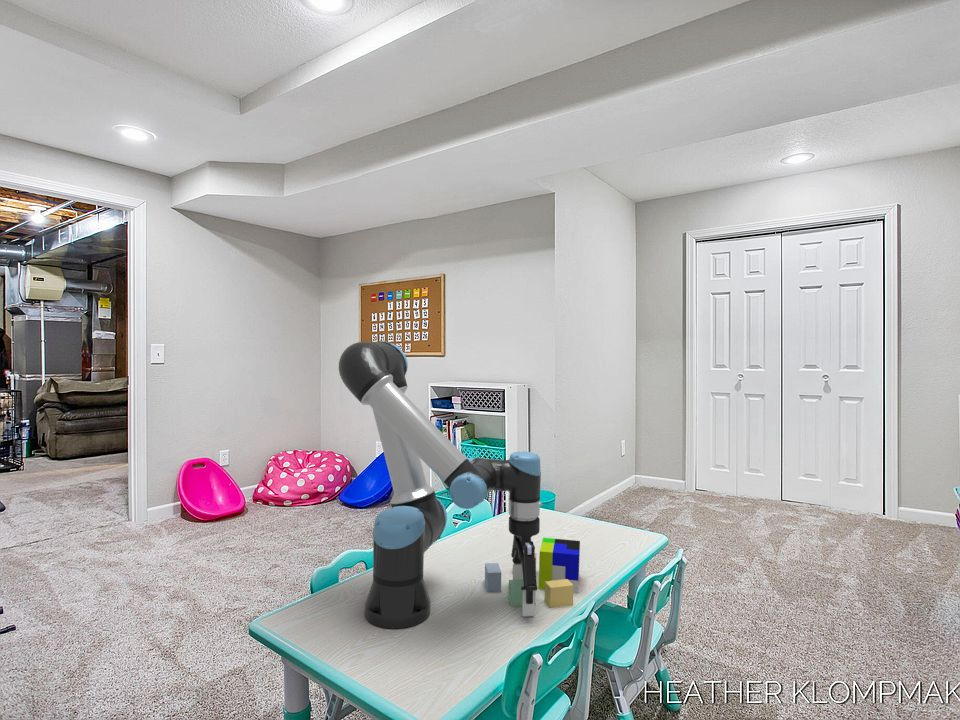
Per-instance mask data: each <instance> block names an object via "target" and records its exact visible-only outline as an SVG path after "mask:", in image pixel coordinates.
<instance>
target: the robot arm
mask: <svg viewBox="0 0 960 720" xmlns="http://www.w3.org/2000/svg"><path fill="white" fill-rule="evenodd" d="M408 368H409V366H408V360H407V356H406V354H405V353H404V351H403V350H402V349H401V348H400V347H399V346H398V345H396V344H394V343H392V342H388V341H384V340H378V341H358V342H355V343H354V342H353V343H352V344H351V345H349V346H348V347H346V348H345V350H343V352H342V353H341V355H340V358H339V361H338V373H339V376H340V379H341V381H342V383H343V384H344V386H345V387H346V388H347V389H348V390H349V393H351V394H352V395H353V397H355V399H356V400H357V401H359V403H361V404H362V405H365V406H368V405H369V407H371V410H372V412H373V417H374V420H375V424H376V428H377V432H378V436H379V440H380V443H381V446H382V450H383V455H384V459H385V463H386V467H387V471H388V473H389V479H390V481H391V486H392V490H393V496H392V498H391V499H390V502H389V503H390V506H391V508H390V507H389V508H386V509H384V510H382V511H380V512H379V513H378V514H377V516H376V517H375V519H374V522H373V523H374V524H373V529H372V539H373V540H372V541H373V542H372V545H373V547H372V550H373V553H372V563H373V565H372V573H373V574H372V582H371V586H370V589H369V591H368V595H367V598H366V601H365V603H364V604H365V605H364V616H365V619H366V620H367V621H368V623H370V624H371V625H373V626H376V627H379V628H383V629H404V628H410V627H413V626H416V625H418V624H420V623H422V622H424V621H425V620H427V618H429V616H430V614H431V600H430V595H429V592H428V588H427V587H426V583H425V580H424V561H425V559H424V558H425V557H424V556H425V554H426V553H425V552H427V551H428V549H430V547H431V546H432V545H433V544H434V543H436V542H437V541H438V540H439V539H440V537H441V536H442V534H443V533H444V531H445V528H446V526H447V523H448V522H447V521H448V513H447V510H446V507H445V505H444V503H443V502H442V501H441V499H438V498H437V495H436V492H435V488H434V487H432V486H430V485H428V483H427V480H426V476H425V472H424V469H423V465H422V461H423V463H425V464H426V465H427V467H428V468H429V469H430V470H431V471H433V473H434V474H435V475H436V476H437V477H438V478H439V479H440V480H441V481H442V482H443V483H444V484H445V485H446V486H447V488H448V489H449V496H450V499H451V501H452V502H453V504H454V505H456V506H457V507H459V508H460V509H463V510H464V509H465V510H470V509H474V508H475V507H476V506H478V505H480V504H482V503H483V501H484V500H485V499H486V497H487V496H488V495H489V494H490V492H491V491H496V492H497V491H499V492H508V493H509V494H508V515H509V516H508V531H509V533H510V534H511V535H513V540H512V549H511V554H510V555H511V558H512V560H511V561H512V580H518V579H523V582H524V587H521V590H523V601H522V606H521V607H522V609H521V610H522V611H521V613H522V614H521V615H522V617H535V606H536V594H535V591H536V592H537V591H538V585H537V583H538V582H537V566H536V567H535V553H536V551H535V550H536V547H535V545H534V541H532V537H534V536H537V535H539V533H540V531H541V530H540V528H541V527H540V524H541V522H540V521H541V519H540V517H539V516H540V511H541V510H540V507H543V503H542V501H540V500H541V480H542V479H541V476H542V471H541V458H540V455H539V454H538V453H535V452H532V451H514V452H512V453H510V455H509V458H508V459H495V458H483V457H466V456H465V454H464V453H463V452H462V451H460V449H459V448H458V447H457V446H455V445H456V444H454V443H453V442H452V441H451V440H450V439H449V438H448V437H447V436H446V435H445V434H444V433H443V432H442V431H441V430H440V428H438V427H437V426H436V425H435V424H434V423H433V421H431V419H429V418H428V417H427V415H426V414H424V413H423V412H422V410H421V409H420V408H419V407H417V406H416V404H415V403H414V402H413V401H412V400H411V399H410V398H409V397H408V396H407V395H406V394H405V393H406V391H407V390H408V384H407V383H408V382H407V380H406V374H407V372H408ZM514 563H515V564H514ZM521 563H522V564H521Z"/></svg>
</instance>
